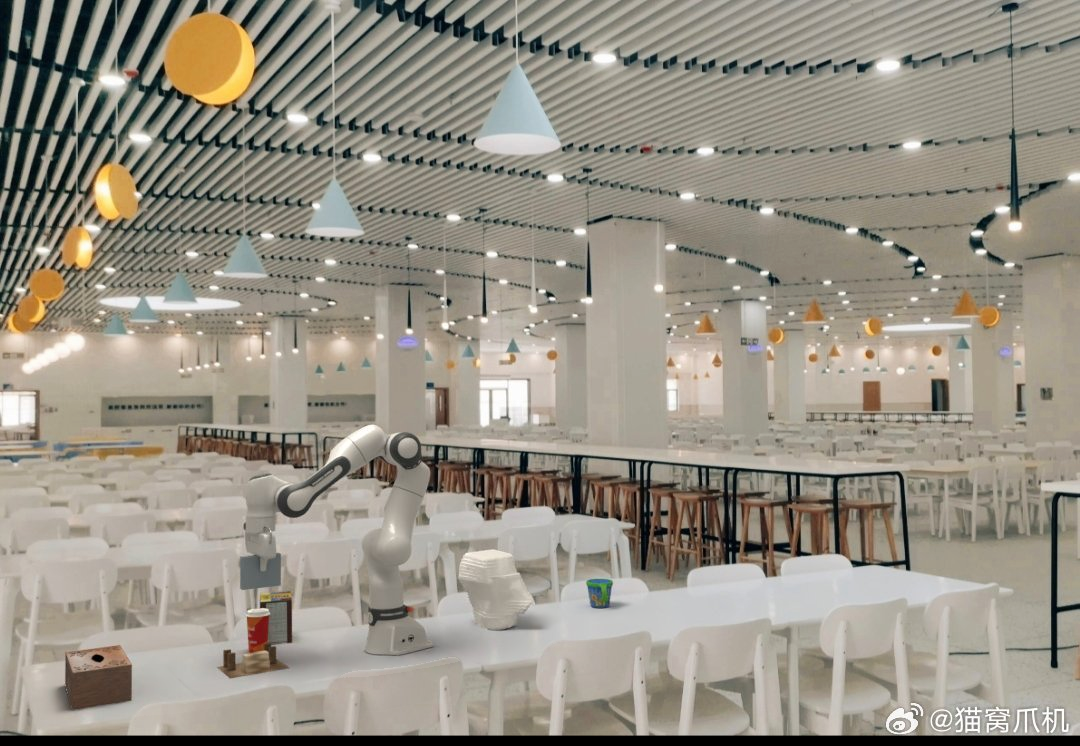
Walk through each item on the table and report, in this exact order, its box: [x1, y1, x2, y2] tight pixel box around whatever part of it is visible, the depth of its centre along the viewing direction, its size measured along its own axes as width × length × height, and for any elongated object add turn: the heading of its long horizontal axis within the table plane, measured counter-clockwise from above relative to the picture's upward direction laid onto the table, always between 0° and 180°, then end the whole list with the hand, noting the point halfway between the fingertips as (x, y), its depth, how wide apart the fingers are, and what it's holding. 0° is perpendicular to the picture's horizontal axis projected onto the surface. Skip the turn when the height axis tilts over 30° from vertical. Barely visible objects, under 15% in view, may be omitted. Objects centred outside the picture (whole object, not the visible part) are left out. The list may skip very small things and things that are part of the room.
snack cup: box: [585, 578, 614, 609], centre depth 358 cm, size 16×10×10 cm
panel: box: [239, 552, 282, 591], centre depth 283 cm, size 12×2×10 cm, turn 124°
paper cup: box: [245, 607, 270, 653], centre depth 294 cm, size 8×8×14 cm
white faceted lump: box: [457, 548, 533, 631], centre depth 328 cm, size 21×27×26 cm
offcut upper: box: [241, 651, 269, 665], centre depth 272 cm, size 7×3×2 cm, turn 129°
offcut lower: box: [244, 661, 270, 673], centre depth 272 cm, size 7×3×2 cm, turn 124°
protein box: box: [259, 590, 293, 646], centre depth 311 cm, size 10×15×16 cm
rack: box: [216, 643, 291, 679], centre depth 275 cm, size 18×15×6 cm
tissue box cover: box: [64, 644, 133, 711], centre depth 254 cm, size 26×14×10 cm, turn 32°
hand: (260, 570), depth 283 cm, fingers closed on panel, 2 cm apart
